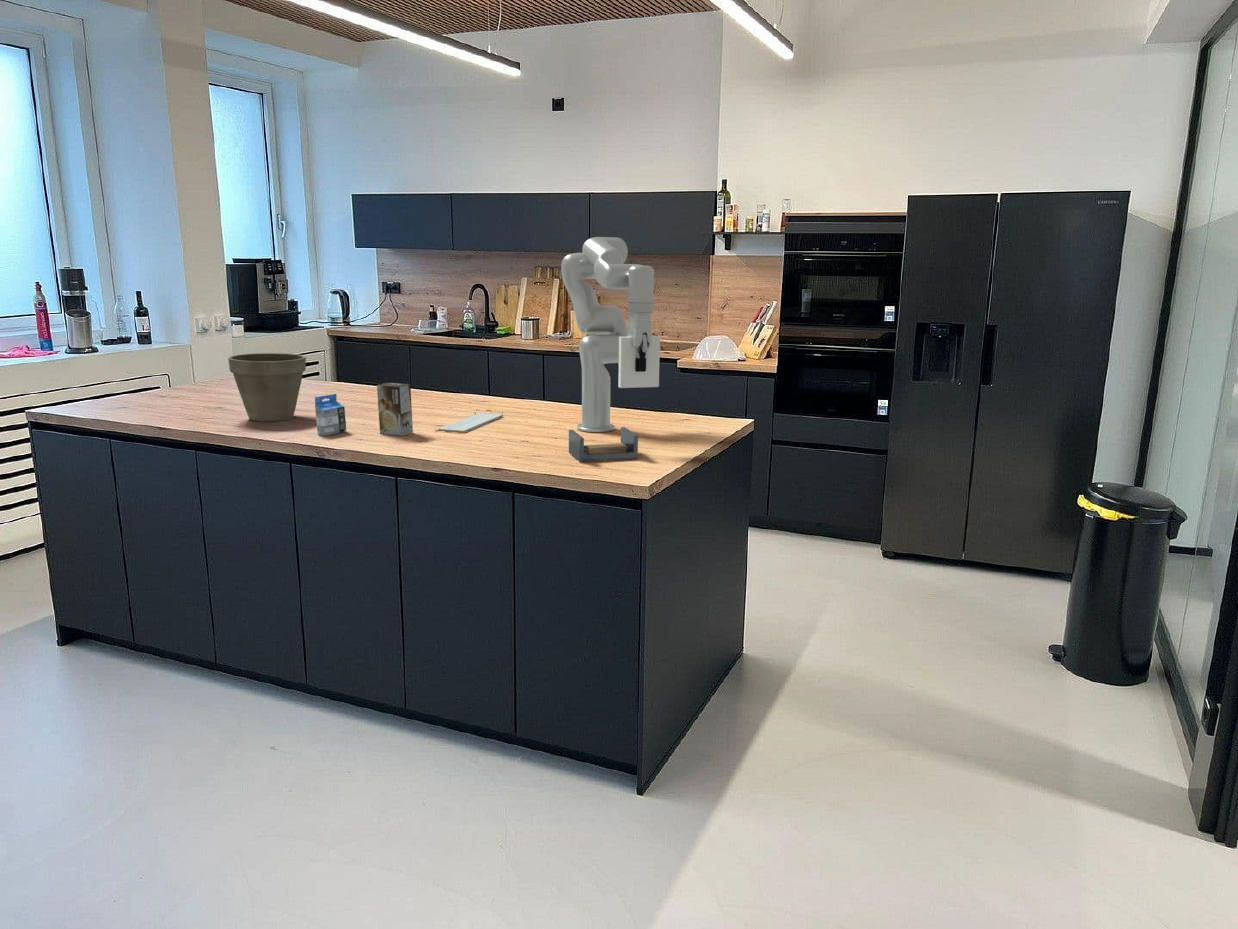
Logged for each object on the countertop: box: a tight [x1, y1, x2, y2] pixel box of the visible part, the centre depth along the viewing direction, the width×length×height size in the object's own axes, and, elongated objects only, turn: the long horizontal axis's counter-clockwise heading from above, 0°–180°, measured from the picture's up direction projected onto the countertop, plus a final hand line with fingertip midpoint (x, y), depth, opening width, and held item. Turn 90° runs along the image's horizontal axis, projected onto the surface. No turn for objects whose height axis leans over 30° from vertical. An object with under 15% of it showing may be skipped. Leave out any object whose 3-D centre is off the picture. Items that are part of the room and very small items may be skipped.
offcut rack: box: [568, 426, 639, 463], centre depth 254 cm, size 13×17×7 cm
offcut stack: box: [584, 442, 626, 455], centre depth 252 cm, size 4×13×4 cm, turn 107°
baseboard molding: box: [434, 409, 504, 434], centre depth 299 cm, size 31×3×12 cm
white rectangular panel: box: [617, 335, 661, 389], centre depth 259 cm, size 2×12×15 cm, turn 106°
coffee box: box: [376, 382, 414, 437], centre depth 280 cm, size 9×6×16 cm
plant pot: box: [227, 352, 307, 423], centre depth 302 cm, size 25×25×22 cm
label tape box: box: [314, 393, 347, 437], centre depth 280 cm, size 9×4×12 cm, turn 149°
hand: (639, 370), depth 260 cm, fingers closed on white rectangular panel, 2 cm apart
